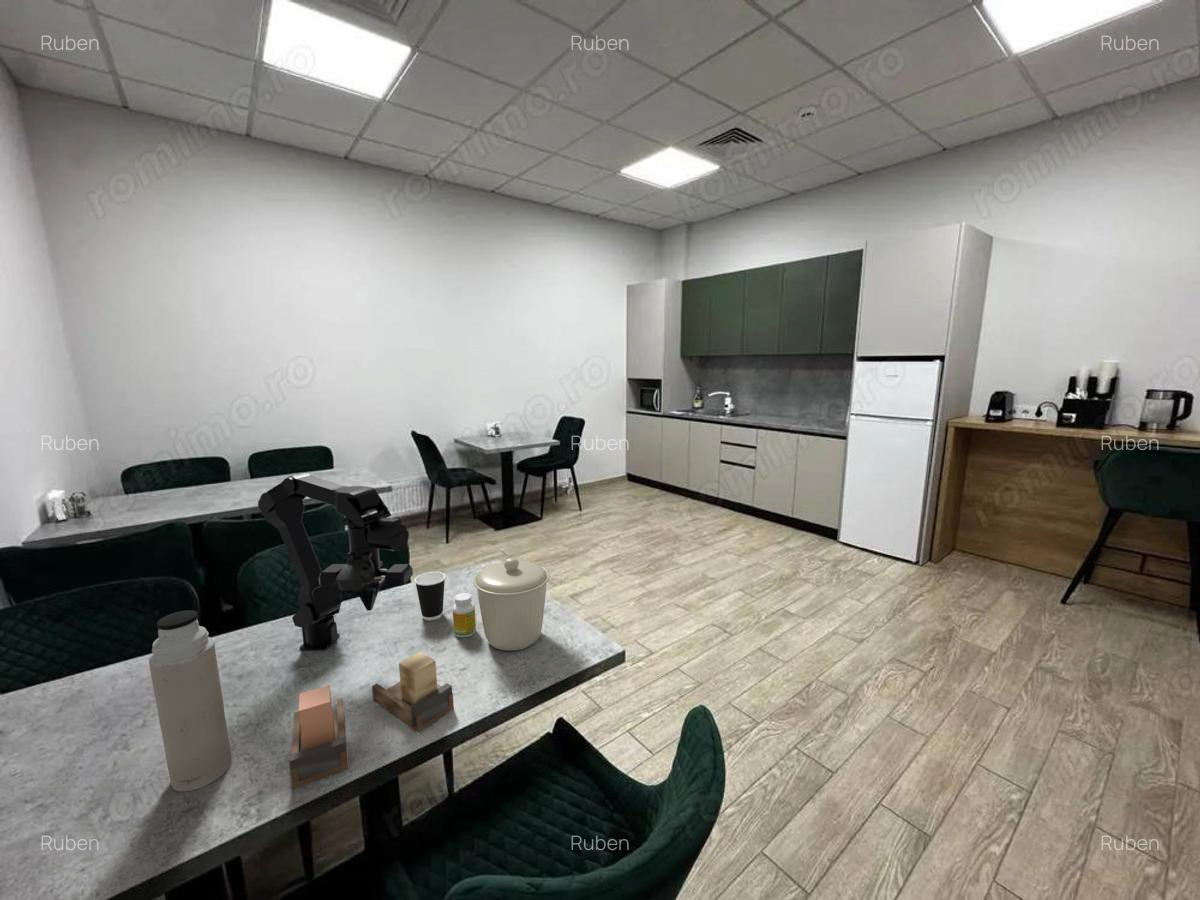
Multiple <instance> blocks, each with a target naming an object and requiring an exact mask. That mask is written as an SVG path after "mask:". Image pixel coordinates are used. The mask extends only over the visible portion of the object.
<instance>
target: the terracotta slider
mask: <svg viewBox="0 0 1200 900" xmlns="http://www.w3.org/2000/svg"><path fill="white" fill-rule="evenodd" d="M331 693H332V692H331V684H329V685H325V686H321V687H318V688H315V689H311V690H308V691H307V690H306V691H303V692H300V693H299V702H298V711H299V717H300V725H301V733H302V741H303V750H306V749H309V748H312V747H315V746H318V745H321V744H324V743H327V742H330V741H333V740H335V728H334V719H333V713H334V711H333V703H332V702H333V701H332V695H331Z"/></svg>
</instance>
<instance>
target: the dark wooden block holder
mask: <svg viewBox="0 0 1200 900" xmlns="http://www.w3.org/2000/svg"><path fill="white" fill-rule="evenodd" d="M336 706H337V711H335V712H334V711H333V719H334V728H335V740H333V741H330V742H327V743H324V744H321V745H318V746H315V747H312V748H309V749H306V750H303V741H302V733H301V725H300V717H299V710H298V711H295V712H293V725H292V739H291V740H292V741H291V752H290V753H291V754H289V756H288V757H289V760H288V761H289V772H290V780H291V787H292V790H295V789H298V788H301V787H303V786H306V785H309V784H312V783H314V782H317V781H319V780H323V779H325V778H328V777H331V776H334V775H336V774H340V773H342V772H344V771H348V770H349V760H348V759H349V757H348V746H347V743H348V742H347V733H346V732H347V731H346V717H345V708H344V698H343V697H342V698H338V699H337V700H336ZM311 782H312V783H311Z"/></svg>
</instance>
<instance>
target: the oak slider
mask: <svg viewBox="0 0 1200 900" xmlns="http://www.w3.org/2000/svg"><path fill="white" fill-rule="evenodd" d="M398 669H399V671H398V672H399V682H400V684H401V696H402V701H404V702H405V703H407V704H408V705H410V706H411V705H413V704H415V703H416V702H418V701H419V700H421V699H422V698H424V697H426V696H427V695H429V694H430V693H432V692H433V691H435V690H437V684H438V679H437V665H436V659H433V658H432V657H430V656H428V655H427V654H425V653H423V652H421V651H419V652H417V653H415V654H413V655H411V656H410V657H407V658H405V659H404V660H402V661H400V662H399V663H398Z"/></svg>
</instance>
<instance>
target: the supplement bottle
mask: <svg viewBox="0 0 1200 900" xmlns="http://www.w3.org/2000/svg"><path fill="white" fill-rule="evenodd" d="M452 620H453V621H452V622H453V624H452V625H453V635H454V636H455V637H457V638H467V637H471V636H473V635H474V634H475V633H476V631H477V630H476V629H477V627H476V626H477V625H476V623H477V622H476V605H475V603H474V602H472V594H470V593H466V592H463V593H459V594H457V595H455V597H454V605H453V607H452Z"/></svg>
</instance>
